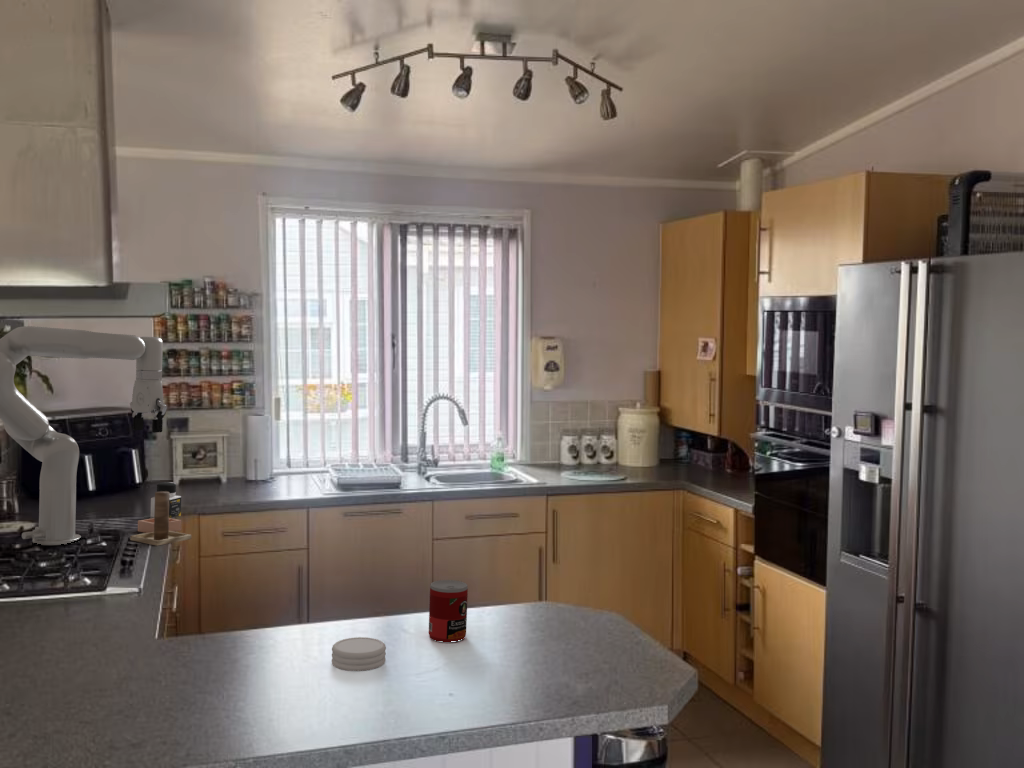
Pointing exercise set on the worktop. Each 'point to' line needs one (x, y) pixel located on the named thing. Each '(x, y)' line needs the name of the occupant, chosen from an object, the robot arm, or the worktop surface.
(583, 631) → the worktop surface
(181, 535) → the tray
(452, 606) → the canned food
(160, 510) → the dowel
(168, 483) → the medicine bottle
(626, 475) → the worktop surface
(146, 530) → the pink square box
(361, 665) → the coaster
